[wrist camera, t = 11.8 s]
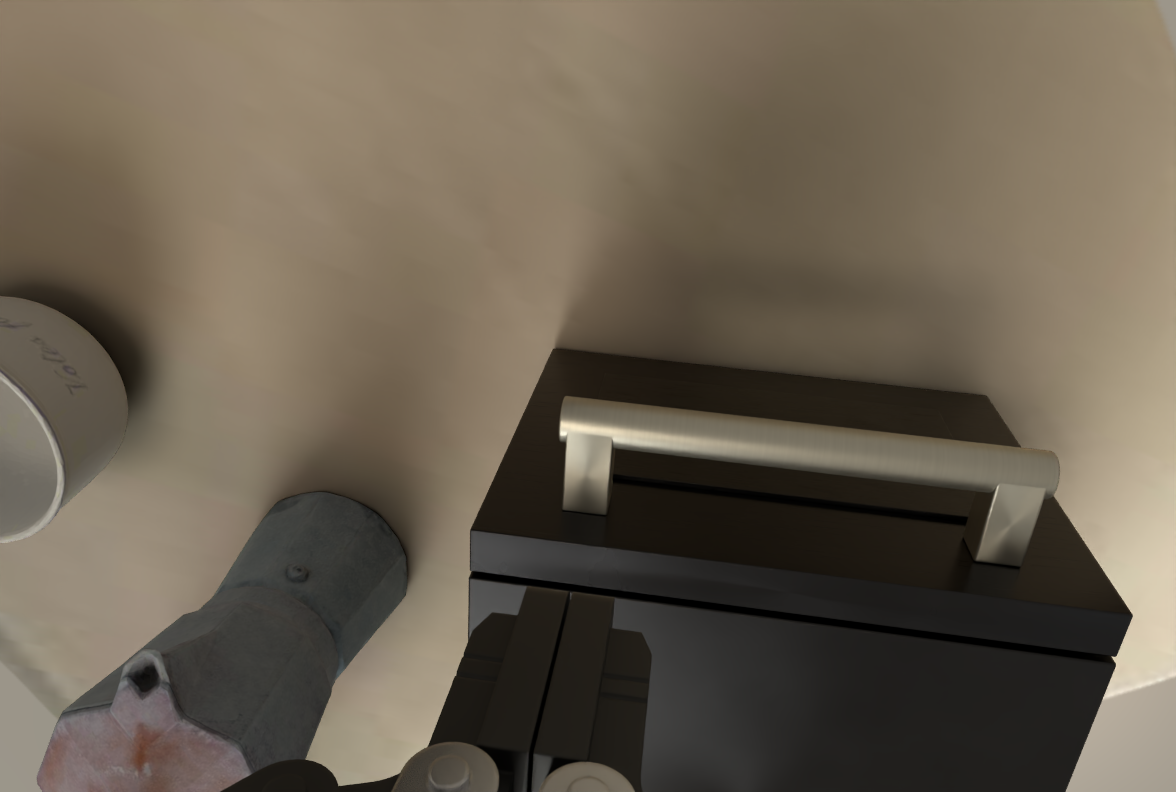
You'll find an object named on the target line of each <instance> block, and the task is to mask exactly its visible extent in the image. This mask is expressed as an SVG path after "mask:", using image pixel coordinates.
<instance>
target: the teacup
mask: <svg viewBox="0 0 1176 792" xmlns="http://www.w3.org/2000/svg"><path fill="white" fill-rule="evenodd" d="M127 421H128V402H127V395H126V391H125V387H124V384H123V382H122V379H121V376H120V374H119V372H118V370H117V368H116V366H115V364H114V363H113V361H112V359H111V358H110V356H109V355H108V353H107V352H106V351H105V349H104V348H103V347H102V346H101V345H100V344H99V342H98V341H97V340H96V339H95V338H94V337H93V336H92V335H91V334H90V333H89V332H88V331H87V330H85V329H84V328H83V327H82V326H80V325H79V324H78V323H76V322H75V321H73V320H72V319H70V318H69V317H67V316H65V315H64V314H62V313H60V312H58V311H57V310H55V309H52V308H50V307H48V306H45V305H43V304H40V303H37V302H33V301H30V300H26V299H22V298H16V297H6V296H0V543H6V542H12V541H16V540H20V539H24V538H27V537H29V536H31V535H33V534H35V533H37V532H38V531H40V530H42V529H43V528H44V527H45V526H46V525H48V524H49V523H50V522H51V520H52V519H53V518H54V517H55V516H56V514H57V513H58V511H59V510H60V509H61V508H62V507H63V506H64V505H65V504H67V503H68V502H69V501H70V500H71V499H72V498H73V497H74V496H76V495H77V494H78V493H79V492H80V491H81V490H82V489H83V488H84V487H85V486H87V485H88V484H89V483H90V482H91V481H92V480H93V479H94V478H95V477H96V476H97V475H98V474H99V473H100V472H101V471H102V470H103V469H104V468H105V466H106V465H107V464H108V463H109V462H110V460H111V459H112V458H113V456H114V455H115V454H116V452H117V450H118V449H119V447H120V445H121V442H122V440H123V438H124V434H125V431H126V427H127Z"/></svg>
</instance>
